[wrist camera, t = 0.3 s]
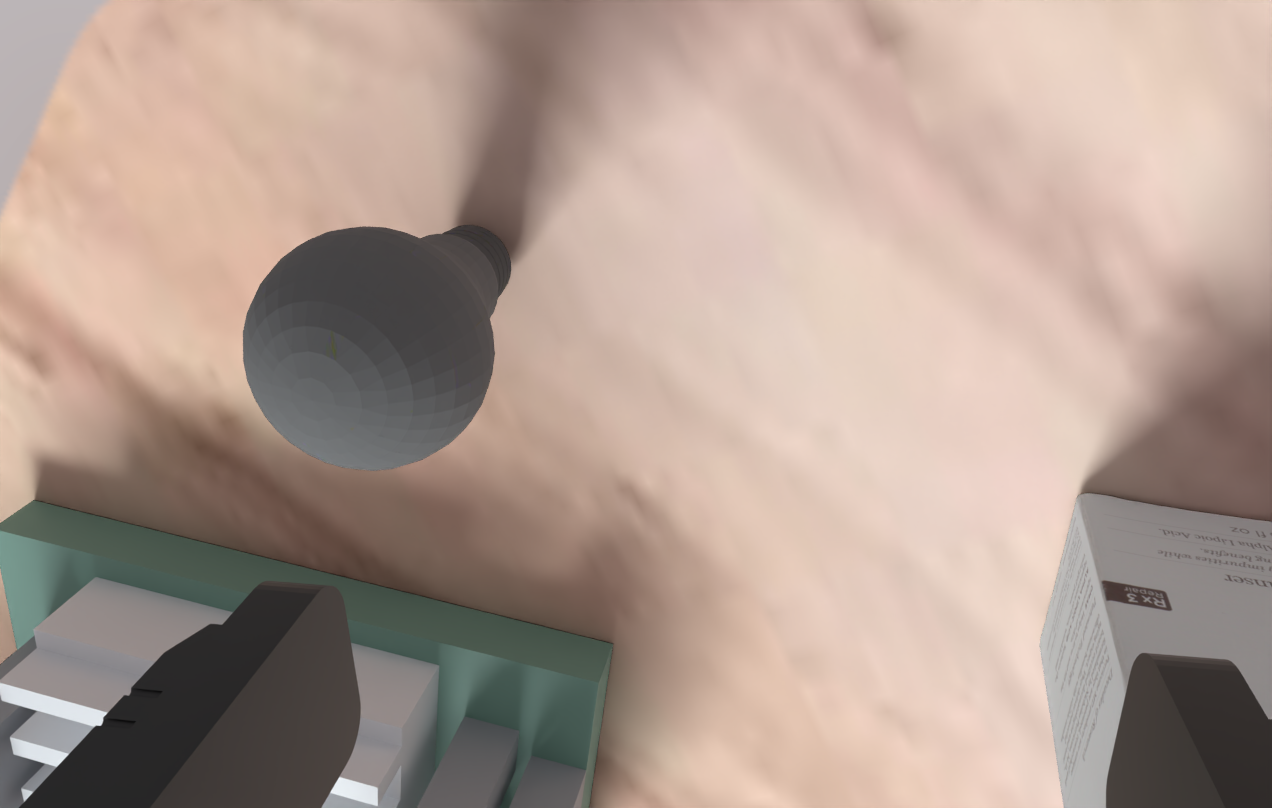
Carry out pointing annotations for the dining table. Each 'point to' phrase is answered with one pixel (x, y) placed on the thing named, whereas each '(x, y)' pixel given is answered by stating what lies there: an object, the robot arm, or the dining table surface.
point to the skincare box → (1146, 618)
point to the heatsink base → (373, 613)
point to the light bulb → (376, 342)
